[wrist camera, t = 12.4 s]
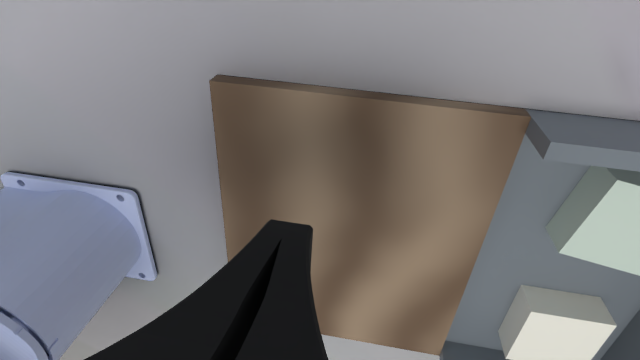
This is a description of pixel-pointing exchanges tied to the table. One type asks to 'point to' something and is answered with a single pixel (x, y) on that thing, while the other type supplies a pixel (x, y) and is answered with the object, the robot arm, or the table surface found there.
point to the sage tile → (601, 220)
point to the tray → (548, 237)
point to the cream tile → (554, 325)
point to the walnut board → (367, 195)
